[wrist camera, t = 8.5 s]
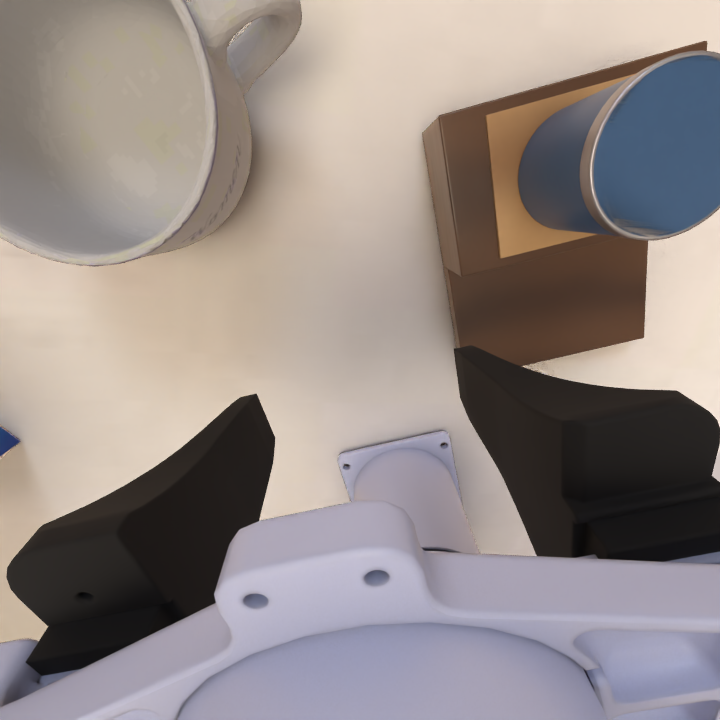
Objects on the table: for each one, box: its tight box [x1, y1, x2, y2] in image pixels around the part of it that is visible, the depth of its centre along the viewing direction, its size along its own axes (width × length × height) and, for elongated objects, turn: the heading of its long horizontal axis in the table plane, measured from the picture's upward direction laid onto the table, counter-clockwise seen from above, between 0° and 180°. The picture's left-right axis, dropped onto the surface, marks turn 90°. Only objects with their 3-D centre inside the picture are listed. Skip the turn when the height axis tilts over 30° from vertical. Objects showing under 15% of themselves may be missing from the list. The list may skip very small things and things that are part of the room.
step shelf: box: [422, 41, 707, 366], centre depth 20 cm, size 14×11×4 cm
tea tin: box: [518, 51, 720, 241], centre depth 14 cm, size 5×5×6 cm
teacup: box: [0, 0, 302, 266], centre depth 16 cm, size 14×11×8 cm
